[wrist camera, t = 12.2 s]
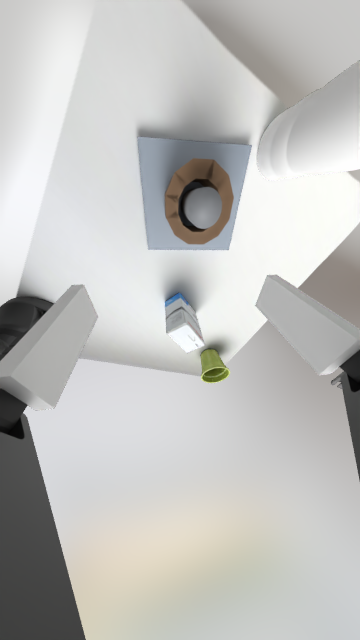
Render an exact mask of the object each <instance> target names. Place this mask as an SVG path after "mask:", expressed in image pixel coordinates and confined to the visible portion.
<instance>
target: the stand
mask: <svg viewBox="0 0 360 640" xmlns="http://www.w3.org/2000/svg"><path fill="white" fill-rule="evenodd" d="M137 139H138V149H139V159H140V169H141V179H142V189H143V200H144V210H145V220H146V230H147V240H148V250H229V246H230V241H231V237H232V232H233V228H234V223H235V219H236V214H237V210H238V205H239V201H240V196H241V192H242V187H243V183H244V178H245V174H246V169H247V165H248V160H249V156H250V152H251V147H252V145H243V144H229V143H216V142H202V141H189V140H176V139H162V138H149V137H137ZM193 158H198V159H214V160H215V161H216V162H217V163H218V164H219V165H220V166H221V167H222V168H223V169H224V170H225V171H226V172H227V173H228V175H229V178H230V182H231V187H232V191H233V196H234V200H233V205H232V209H231V214H230V219H229V221H228V222H227V224H226V225H225V227H224V228H223V230H222V231H221V233H220V234H219V236H217V237H216V238H214V239H212V240H211V241H209V242H207V243H205V244H187V243H185V242H184V241H182V240H181V239H179V238H178V237H177V236H175V235H174V233H173V231H172V229H171V227H170V225H169V223H168V221H167V219H166V216H165V192H166V190H167V188H168V185H169V183H170V181H171V178H172V176H173V174H174V173H175V172H176V171H177V170H178V169H180V168H181V167H182V166H184V165H185V164H186V163H188V162H189V161H190V160H192V159H193ZM221 210H222V201H221V197H220V195H219V193H218V192H217V191H216V190H215V189H213V188H211V187H204V186H202V185H201V184H200V183H199V182H190V183H189V184H187V185H186V186H185V187H184V189H183V191H182V193H181V195H180V197H179V200H178V215H179V217H180V219H181V222H182V223H184V224H185V225H187V226H196V227H198V228H201V229H206V228H209V227H211V226H213V225H214V224H215V223H216V222H217V220H218V219H219V217H220V214H221Z"/></svg>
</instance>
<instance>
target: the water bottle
mask: <svg viewBox="0 0 360 640" xmlns="http://www.w3.org/2000/svg"><path fill="white" fill-rule="evenodd" d="M257 165H258V170H259V172H260V174H261V176H262V177H263V178H265V179H266V180H269V181H277V180H282V179H285V178H298V177H302V176H304V175H321V174H331V173H339V172H345V171H352V170H357V169H360V60H359V61H358V62H356V63H355V64H353V65H352V66H351V67H349V68H348V69H346V70H345V71H344V72H342V73H341V74H339V75H338V76H337V77H335V78H334V79H333V80H332V81H330V82H329V83H328V84H327V85H325V86H324V87H323V88H320V89H318V90H316V91H314V92H312V93H311V94H309V95H307V96H306V97H305V98H303V99H302V100H301V101H300V102H298V103H297V104H296V105H294V106H292V107H290V108H288V109H287V110H285V111H283V112H282V113H281V114H279V115H278V116H277V117H276V118H275V119H274V120H273V121H272V122H271V123H270V125H269V126H268V127H267V129H266V131H265V132H264V134H263V136H262V139H261V142H260V145H259V148H258V154H257Z"/></svg>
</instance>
